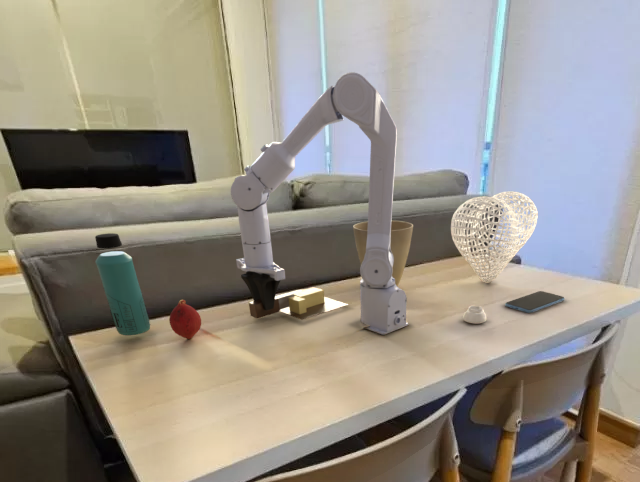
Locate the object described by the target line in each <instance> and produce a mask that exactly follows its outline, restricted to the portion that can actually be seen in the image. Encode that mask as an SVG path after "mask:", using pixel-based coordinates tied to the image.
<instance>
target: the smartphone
mask: <svg viewBox="0 0 640 482" xmlns="http://www.w3.org/2000/svg"><path fill="white" fill-rule="evenodd" d="M563 301H565V297H564V296H563V295H559V294H554V293H551V292H546V291H543V290H538V291H535V292H533V293H530V294H527V295H524V296H521V297H518V298H516V299H512V300H510V301H507V302H505V303H504V306H505V307H507V308H511V309H513V310H517V311H520V312H523V313H528V314H531V313H535V312H537V311H540V310H543V309H545V308H548V307H550V306H554V305H556V304H558V303H561V302H563Z"/></svg>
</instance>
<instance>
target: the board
mask: <svg viewBox="0 0 640 482" xmlns="http://www.w3.org/2000/svg"><path fill="white" fill-rule="evenodd" d="M302 290H303V289H296V290H292V291H290V292H285V293H282V294H278V295H275V297H276V298H280V297H283V296H287V295H290V294H291V293H295V292H298V291H302ZM324 301H325V303H321V304H318V305H315V306H312V307H308V308H306V311H307V312H306V313H302V314H297V313H295V312H292V311H290V308H289V307H287V308H284V309H280V312H281V313H283V314H286V315H288V316H290V317H293V318H296V319H299V320H301V321H303V320H306V319H309V318H312V317H315V316H318V315H322V314H325V313H327V312H331V311H333V310H338V309H340V308H343V307H346V306H349V305H350V304H348V303H345V302H342V301H339V300H336V299H332V298H330V297H326V296H324ZM280 312H279V313H280Z"/></svg>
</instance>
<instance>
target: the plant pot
mask: <svg viewBox="0 0 640 482" xmlns="http://www.w3.org/2000/svg"><path fill="white" fill-rule="evenodd" d="M352 229H353V230H352V231H353V236H354V242H355V247H356V251H357V255H358V260H359V264H360V265H361V264H362V262H363V260H364V256H365V253H366V243H367V232H368V220H367V221H362V222H358V223H355V224H353V226H352ZM413 229H414V224H413V223H412V222H407V221H404V220H403V221H402V220H391V242H390V248H391V252H392V254H393V257H394V264H393V267H392V269H393V272H392V277H393V278H394V279H395V284H396V286H397V287H398V288H399V285H400V283H401V280H402V277H403V275H404V271H405V267H406V265H407V261H408V256H409V252H410V248H411V243H412V242H411V241H412V237H413Z"/></svg>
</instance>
